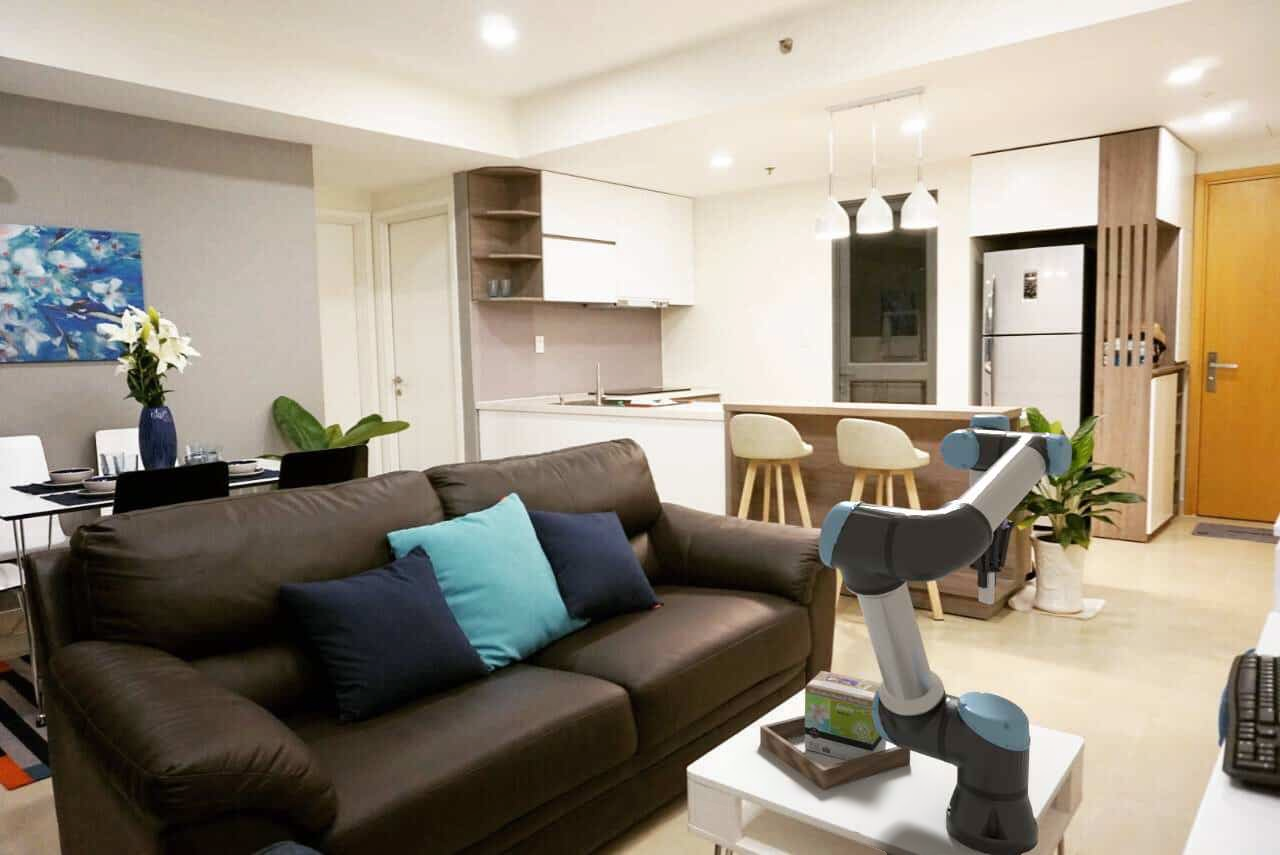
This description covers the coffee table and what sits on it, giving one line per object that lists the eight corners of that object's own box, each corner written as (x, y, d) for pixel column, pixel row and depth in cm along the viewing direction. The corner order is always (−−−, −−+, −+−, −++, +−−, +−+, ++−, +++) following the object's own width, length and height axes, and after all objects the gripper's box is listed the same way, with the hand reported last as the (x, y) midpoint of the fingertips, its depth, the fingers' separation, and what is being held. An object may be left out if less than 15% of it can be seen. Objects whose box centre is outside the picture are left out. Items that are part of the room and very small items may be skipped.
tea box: (803, 751, 184) (803, 684, 182) (820, 732, 192) (820, 668, 191) (873, 768, 176) (873, 698, 174) (887, 748, 184) (888, 682, 183)
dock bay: (910, 764, 177) (910, 745, 177) (823, 790, 168) (823, 770, 167) (841, 723, 197) (841, 706, 196) (760, 743, 187) (760, 726, 187)
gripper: (996, 484, 182) (994, 593, 185) (951, 490, 177) (949, 602, 179) (1026, 489, 176) (1023, 602, 178) (979, 495, 170) (977, 611, 172)
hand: (986, 602), depth 179 cm, fingers closed
